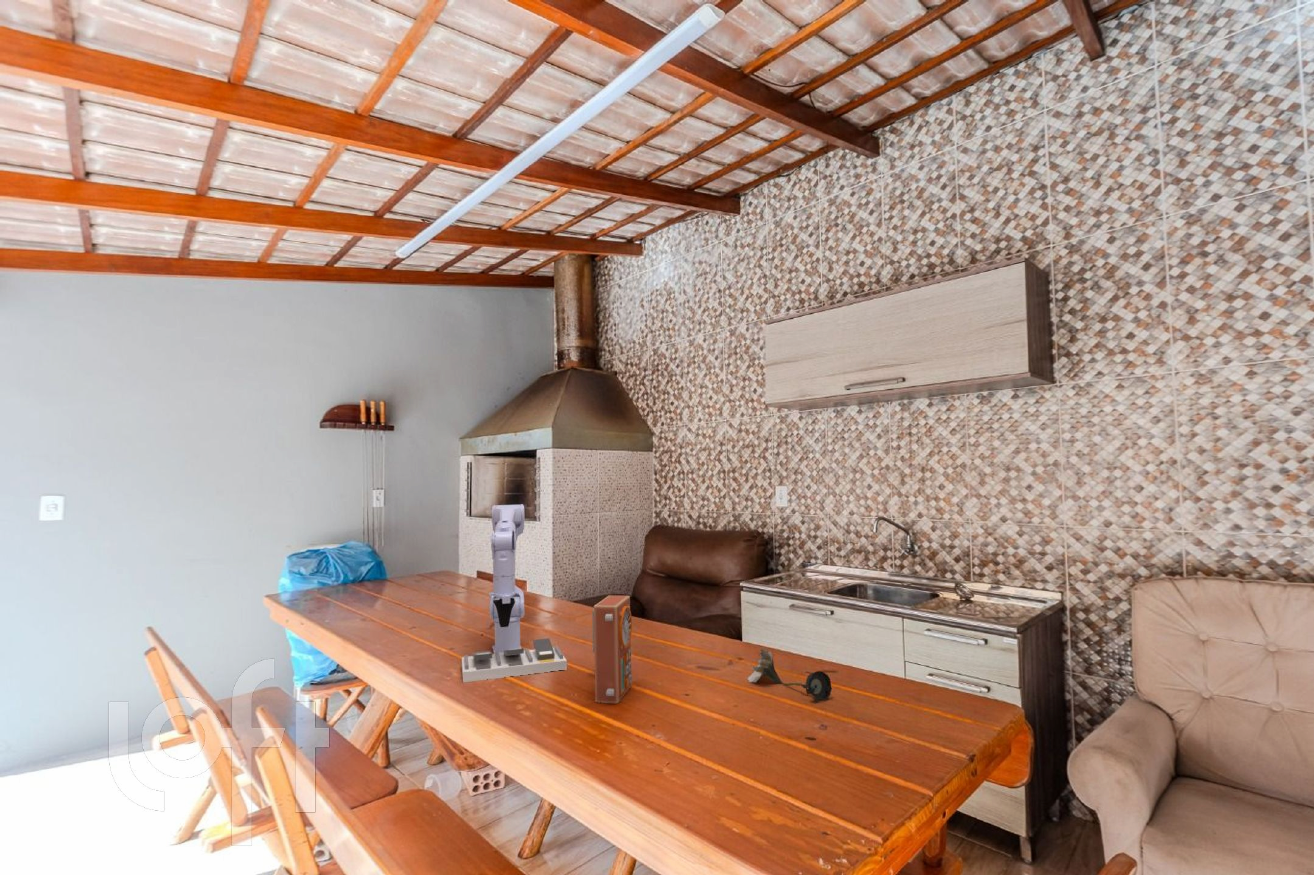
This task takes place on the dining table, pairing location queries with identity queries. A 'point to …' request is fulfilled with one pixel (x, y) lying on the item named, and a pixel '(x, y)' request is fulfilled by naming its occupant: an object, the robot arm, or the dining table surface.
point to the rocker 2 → (543, 649)
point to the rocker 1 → (482, 655)
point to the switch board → (510, 665)
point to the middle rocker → (513, 651)
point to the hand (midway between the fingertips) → (504, 626)
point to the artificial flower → (815, 683)
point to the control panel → (612, 648)
